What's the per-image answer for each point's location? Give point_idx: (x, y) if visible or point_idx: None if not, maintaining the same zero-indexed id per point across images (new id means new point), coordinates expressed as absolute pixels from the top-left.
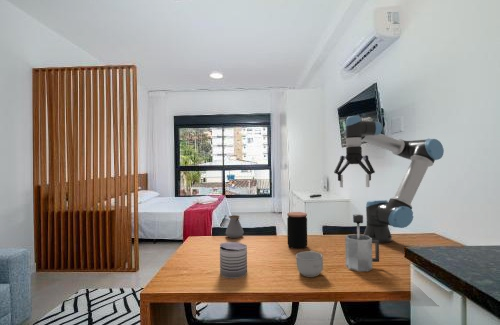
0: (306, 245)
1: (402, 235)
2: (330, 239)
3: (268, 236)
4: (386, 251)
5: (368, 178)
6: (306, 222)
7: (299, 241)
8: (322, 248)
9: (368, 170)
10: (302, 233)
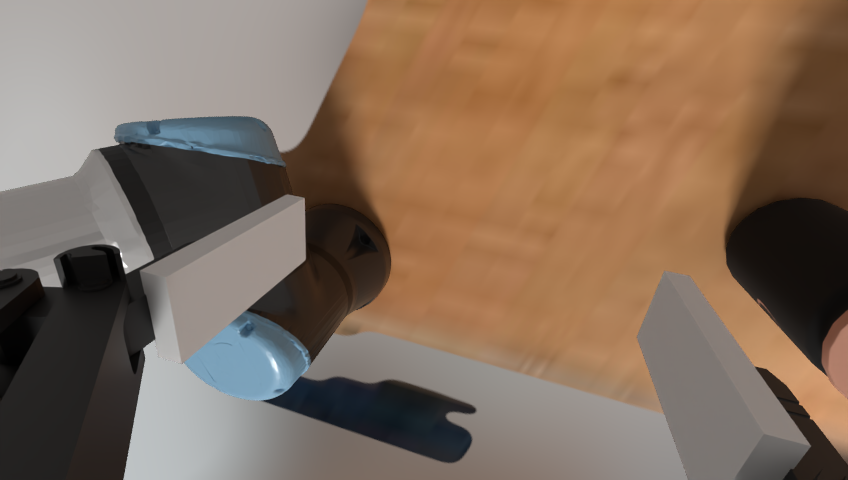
0: (752, 214)
1: None
2: (537, 306)
3: (833, 433)
4: (385, 89)
5: (213, 241)
6: (826, 274)
7: (831, 208)
8: (662, 187)
9: (60, 328)
10: (837, 225)
